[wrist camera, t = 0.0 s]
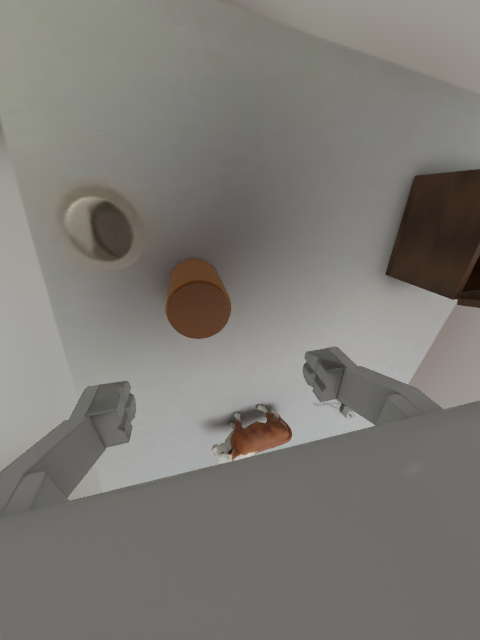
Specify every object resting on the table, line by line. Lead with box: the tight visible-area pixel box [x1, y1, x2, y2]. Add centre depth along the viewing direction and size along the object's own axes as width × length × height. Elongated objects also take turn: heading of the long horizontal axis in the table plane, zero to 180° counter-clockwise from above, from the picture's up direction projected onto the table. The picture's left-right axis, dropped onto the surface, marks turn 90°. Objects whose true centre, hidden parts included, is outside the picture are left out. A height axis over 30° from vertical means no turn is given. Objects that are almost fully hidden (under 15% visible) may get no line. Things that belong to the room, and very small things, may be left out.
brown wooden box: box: [386, 169, 480, 300], centre depth 28 cm, size 13×12×10 cm
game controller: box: [314, 404, 355, 419], centre depth 46 cm, size 6×12×3 cm, turn 94°
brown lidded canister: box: [166, 259, 231, 339], centre depth 24 cm, size 6×6×8 cm
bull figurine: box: [211, 405, 292, 464], centre depth 38 cm, size 4×13×8 cm, turn 94°
